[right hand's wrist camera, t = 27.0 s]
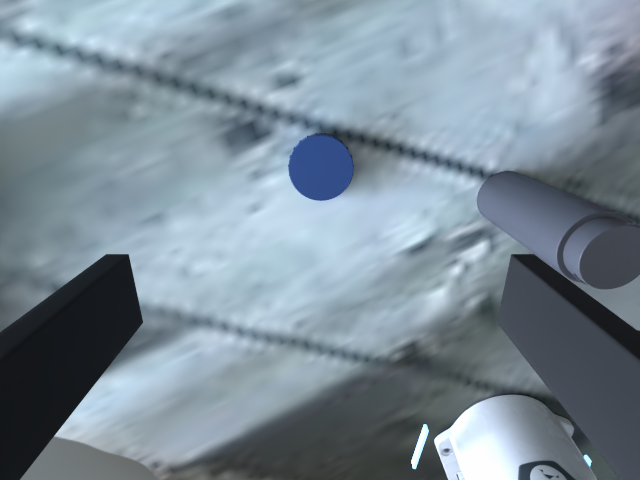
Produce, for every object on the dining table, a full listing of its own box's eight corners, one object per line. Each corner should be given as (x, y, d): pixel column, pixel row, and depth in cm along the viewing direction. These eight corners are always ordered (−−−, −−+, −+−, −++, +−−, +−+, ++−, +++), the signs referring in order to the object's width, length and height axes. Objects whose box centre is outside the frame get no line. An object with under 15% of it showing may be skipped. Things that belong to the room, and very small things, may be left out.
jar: (515, 226, 40) (630, 302, 25) (468, 215, 39) (557, 286, 25) (538, 177, 38) (676, 229, 23) (488, 165, 37) (598, 210, 23)
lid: (303, 122, 36) (302, 123, 34) (363, 148, 37) (365, 151, 35) (280, 181, 38) (278, 186, 36) (336, 205, 39) (337, 210, 37)
